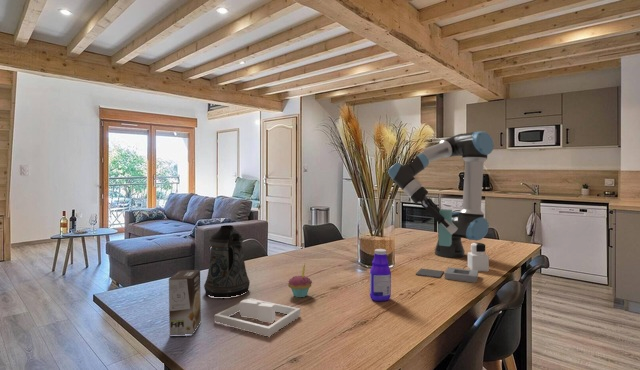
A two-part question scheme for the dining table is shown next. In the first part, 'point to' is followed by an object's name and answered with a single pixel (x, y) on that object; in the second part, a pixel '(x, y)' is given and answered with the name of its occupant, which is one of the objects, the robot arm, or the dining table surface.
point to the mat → (430, 273)
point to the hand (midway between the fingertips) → (454, 231)
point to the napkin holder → (258, 310)
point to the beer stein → (226, 264)
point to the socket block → (461, 274)
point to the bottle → (380, 277)
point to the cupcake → (300, 284)
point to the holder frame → (261, 329)
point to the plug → (444, 235)
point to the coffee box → (184, 302)
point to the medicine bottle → (478, 258)
